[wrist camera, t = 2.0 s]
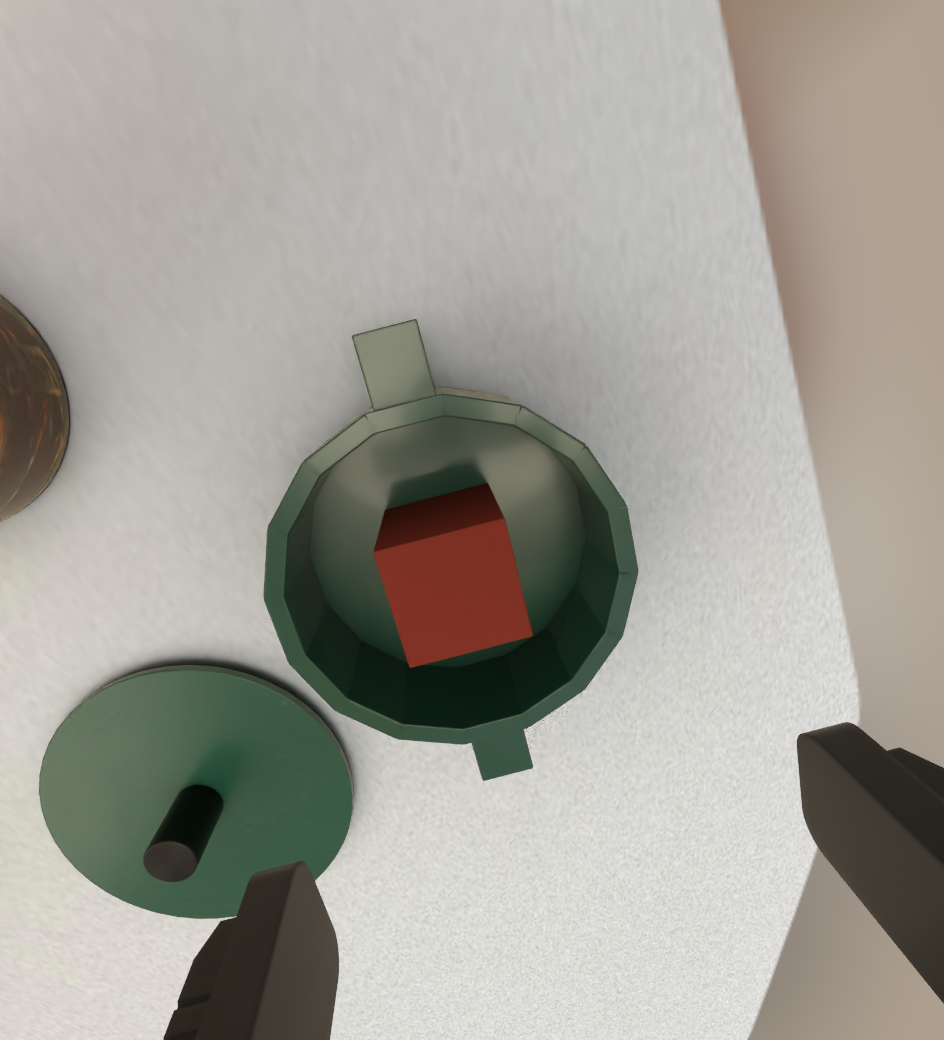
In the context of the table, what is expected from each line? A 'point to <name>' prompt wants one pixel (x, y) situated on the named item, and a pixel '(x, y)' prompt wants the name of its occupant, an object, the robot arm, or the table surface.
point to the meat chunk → (451, 575)
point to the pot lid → (193, 788)
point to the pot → (426, 474)
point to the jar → (28, 413)
